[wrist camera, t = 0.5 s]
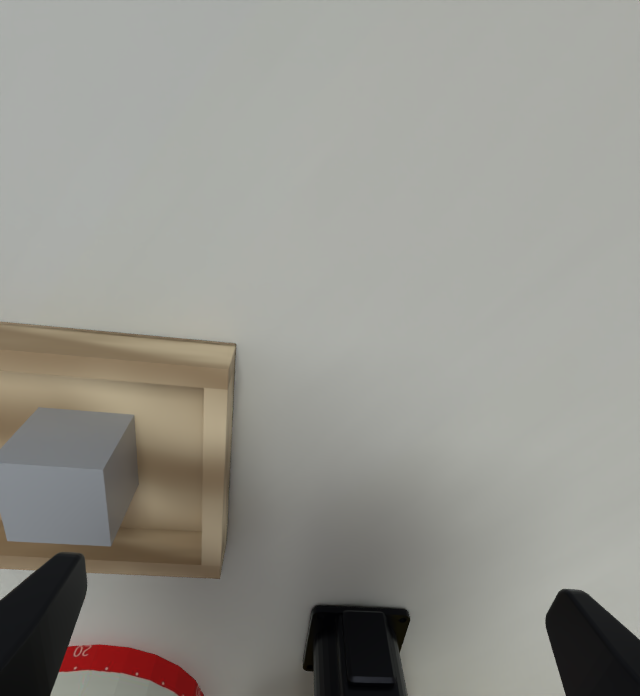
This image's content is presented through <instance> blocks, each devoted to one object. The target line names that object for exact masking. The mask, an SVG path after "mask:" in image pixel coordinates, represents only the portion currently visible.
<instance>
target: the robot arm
mask: <svg viewBox="0 0 640 696" xmlns="http://www.w3.org/2000/svg"><path fill="white" fill-rule="evenodd" d="M86 591H87V575H86V564H85V557H84V555H83V554H82V553H76V552H59V553H57V554H55V555H54V556H53V557H52V558H50V559H49V560H48V561H47V562H46V563H44V564H43V565H42V566H41V567H40V568H38V569H37V570H36V571H35V572H34V573H33V574H31V575H30V576H29V577H28V578H27V579H25V580H24V581H23V582H22V583H21V584H19V585H18V586H17V587H16V588H15V589H13V590H12V591H11V592H10V593H9V594H7V595H6V596H5V597H4V598H3V599H1V600H0V696H50V695H51V692H52V690H53V687H54V684H55V681H56V679H57V676H58V673H59V670H60V667H61V665H62V662H63V659H64V656H65V653H66V650H67V647H68V645H69V642H70V639H71V636H72V633H73V630H74V627H75V625H76V622H77V619H78V616H79V613H80V610H81V608H82V605H83V602H84V599H85V595H86ZM409 622H410V616H409V612H408V611H407V610H403V609H380V608H356V607H332V606H317V607H315V608H313V610H312V613H311V619H310V624H309V630H308V636H307V641H306V647H305V652H304V658H303V669H304V670H306V671H314V696H408V695H407V690H406V685H405V680H404V674H403V669H402V664H401V659H400V650H401V647H402V644H403V641H404V638H405V635H406V631H407V628H408V625H409ZM546 629H547V633H548V636H549V640H550V643H551V646H552V650H553V653H554V657H555V660H556V663H557V667H558V670H559V674H560V677H561V680H562V684H563V687H564V691H565V694H566V696H640V640H639V639H638V638H637V637H636V636H635V635H634V634H633V633H631V632H630V631H629V630H628V629H627V628H626V627H625V626H624V625H622V624H621V623H620V622H619V621H618V620H617V619H616V618H614V617H613V616H612V615H611V614H610V613H609V612H608V611H606V610H605V609H604V608H603V607H602V606H601V605H600V604H599V603H597V602H596V601H595V600H594V599H593V598H592V597H591V596H589V595H588V594H587V593H585V592H584V591H581V590H575V589H562V590H560V591H559V592H558V594H557V596H556V598H555V600H554V601H553V603H552V605H551V607H550V609H549V610H548V612H547V614H546Z"/></svg>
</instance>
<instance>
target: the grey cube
mask: <svg viewBox="0 0 640 696" xmlns="http://www.w3.org/2000/svg"><path fill="white" fill-rule="evenodd" d="M138 485H139V479H138V464H137V448H136V433H135V417H134V415H132V414H119V413H106V412H93V411H80V410H68V409H55V408H42V407H38V409H37V410H36V411H35V412H34V413H33V414H32V415H31V416H30V417H29V418H28V419H27V420H26V422H25V423H24V424H23V425H22V426H21V427H20V428H19V429H18V430H17V431H16V432H15V433H14V435H13V436H12V437H11V438H10V439H9V440H8V441H7V442H6V443H5V444H4V445H3V446H2V448H1V449H0V514H1V518H2V522H3V526H4V530H5V534H6V538H7V541H14V542H33V543H53V544H72V545H92V546H112V543H113V541H114V539H115V537H116V534H117V532H118V530H119V528H120V525H121V523H122V521H123V519H124V517H125V514H126V512H127V510H128V508H129V505H130V503H131V501H132V499H133V496H134V494H135V492H136V490H137V487H138Z"/></svg>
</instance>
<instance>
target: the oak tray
mask: <svg viewBox="0 0 640 696" xmlns="http://www.w3.org/2000/svg"><path fill="white" fill-rule="evenodd" d="M235 355H236V344H235V343H224V342H213V341H202V340H191V339H181V338H170V337H159V336H148V335H138V334H127V333H116V332H105V331H94V330H84V329H73V328H62V327H51V326H41V325H30V324H19V323H8V322H0V449H1V448H2V446H3V445H4V444H5V443H6V442H7V441H8V440H9V439H10V438H11V437H12V436H13V435H14V433H15V432H16V431H17V430H18V429H19V428H20V427H21V426H22V425H23V424H24V423H25V422H26V420H27V419H28V418H29V417H30V416H31V415H32V414H33V413H34V412H35V411H36V410H37V409H38V407H42V408H55V409H68V410H80V411H93V412H106V413H119V414H132V415H134V417H135V433H136V448H137V464H138V479H139V485H138V487H137V490H136V492H135V494H134V496H133V499H132V501H131V503H130V505H129V508H128V510H127V512H126V514H125V517H124V519H123V521H122V523H121V525H120V528H119V530H118V532H117V534H116V537H115V539H114V541H113V543H112V546H92V545H72V544H53V543H33V542H14V541H7V538H6V534H5V530H4V526H3V522H2V518H1V514H0V569H18V570H37V569H38V568H40V567H41V566H42V565H43V564H44V563H46V562H47V561H48V560H49V559H50V558H52V557H53V556H54V555H55V554H57V553H59V552H76V553H82V554H83V555H84V557H85V564H86V573H105V574H127V575H148V576H170V577H192V578H214V579H220V575H221V570H222V564H223V558H224V553H225V547H226V541H227V521H228V500H229V479H230V459H231V438H232V417H233V396H234V376H235Z"/></svg>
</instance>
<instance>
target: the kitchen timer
mask: <svg viewBox="0 0 640 696" xmlns="http://www.w3.org/2000/svg"><path fill="white" fill-rule="evenodd" d="M50 696H204V695H203V693H202V691H201V690H200V688H199V686H198V684H197V682H196V680H194V679H193V678H192V677H191V676H190V675H189V674H188V673H186V672H185V671H184V670H183V669H182V668H181V667H179V666H177V665H175V664H173V663H171V662H169V661H167V660H165V659H163V658H161V657H159V656H157V655H154V654H151V653H147V652H143V651H140V650H136V649H133V648H129V647H119V646H109V645H85V646H71V647H67V650H66V653H65V656H64V659H63V662H62V665H61V667H60V670H59V673H58V676H57V679H56V681H55V684H54V687H53V690H52V692H51V695H50Z"/></svg>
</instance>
